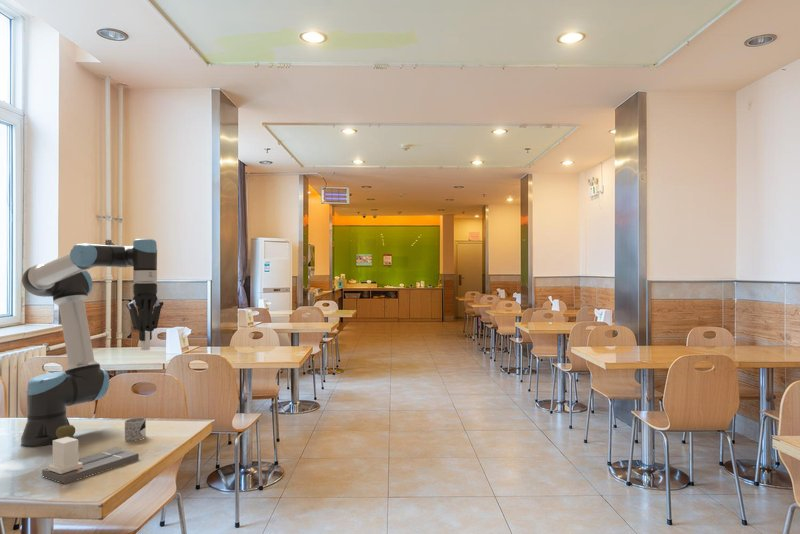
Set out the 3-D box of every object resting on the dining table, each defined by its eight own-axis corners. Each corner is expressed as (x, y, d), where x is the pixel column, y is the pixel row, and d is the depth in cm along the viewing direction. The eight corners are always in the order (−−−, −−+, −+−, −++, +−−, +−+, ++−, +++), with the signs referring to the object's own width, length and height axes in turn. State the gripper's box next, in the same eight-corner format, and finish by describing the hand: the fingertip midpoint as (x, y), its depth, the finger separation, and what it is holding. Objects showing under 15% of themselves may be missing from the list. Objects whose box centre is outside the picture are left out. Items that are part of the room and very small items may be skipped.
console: (116, 453, 168) (116, 447, 169) (138, 459, 162) (138, 452, 163) (42, 476, 149) (42, 469, 149) (64, 484, 143) (64, 476, 143)
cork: (81, 458, 164) (81, 424, 165) (63, 465, 159) (63, 429, 159) (67, 456, 166) (67, 422, 167) (49, 463, 161) (49, 427, 161)
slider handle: (69, 463, 154) (69, 435, 154) (82, 467, 150) (82, 438, 150) (47, 469, 148) (47, 441, 149) (60, 473, 145) (60, 444, 145)
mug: (144, 440, 183) (144, 421, 183) (123, 442, 181) (123, 423, 181) (147, 432, 193) (147, 414, 193) (127, 434, 190) (127, 416, 190)
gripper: (134, 282, 174) (134, 352, 173) (168, 282, 185) (168, 348, 184) (121, 283, 178) (121, 351, 177) (155, 282, 189) (155, 347, 188)
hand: (145, 349), depth 181 cm, fingers closed
